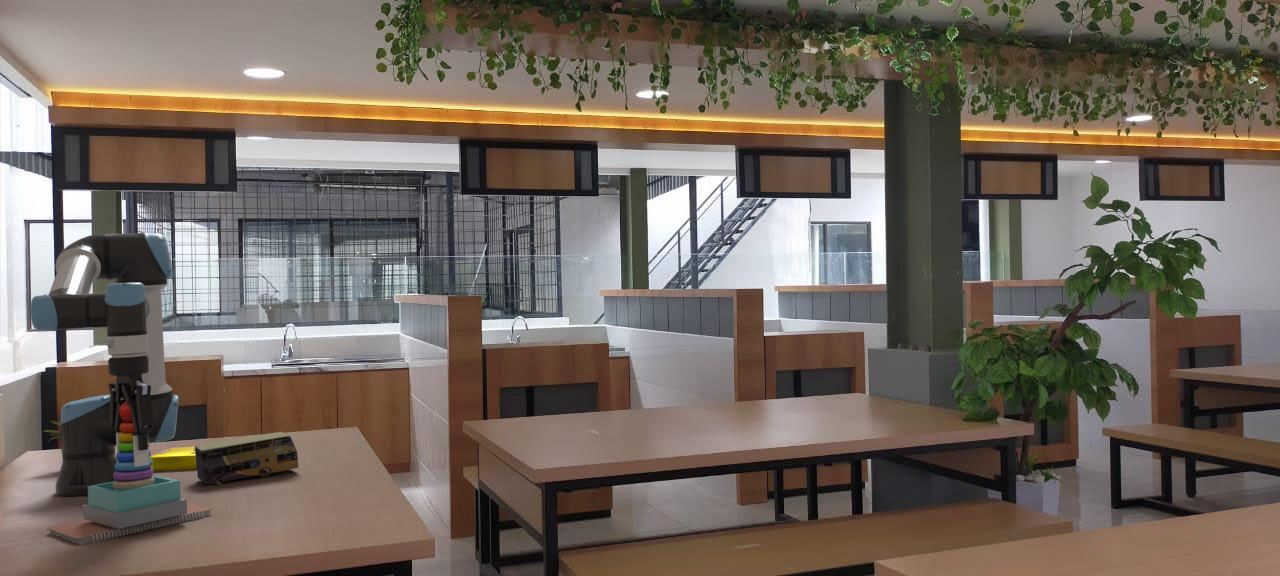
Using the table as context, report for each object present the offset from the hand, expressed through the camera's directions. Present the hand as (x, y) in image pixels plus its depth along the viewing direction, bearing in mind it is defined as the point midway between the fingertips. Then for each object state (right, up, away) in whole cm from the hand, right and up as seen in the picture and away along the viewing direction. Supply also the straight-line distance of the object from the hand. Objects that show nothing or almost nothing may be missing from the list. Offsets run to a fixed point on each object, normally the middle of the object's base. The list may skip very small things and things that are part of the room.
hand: (133, 463), depth 201 cm
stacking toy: (0, -5, 0) cm, 5 cm away
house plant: (-54, -15, +72) cm, 91 cm away
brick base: (+1, -11, 0) cm, 11 cm away
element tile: (-22, -14, +70) cm, 75 cm away
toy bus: (+4, -13, +48) cm, 50 cm away
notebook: (-1, -14, +2) cm, 14 cm away
